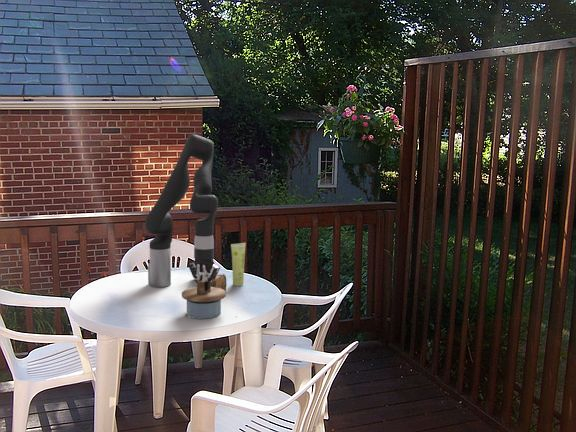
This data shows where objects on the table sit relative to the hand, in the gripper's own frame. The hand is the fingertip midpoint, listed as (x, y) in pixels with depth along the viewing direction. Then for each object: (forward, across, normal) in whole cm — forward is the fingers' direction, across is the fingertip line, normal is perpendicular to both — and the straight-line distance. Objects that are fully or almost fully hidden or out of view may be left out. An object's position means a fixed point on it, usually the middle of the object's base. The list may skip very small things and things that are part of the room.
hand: (204, 289), depth 228 cm
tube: (+10, -9, +41) cm, 43 cm away
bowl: (+10, 0, 0) cm, 10 cm away
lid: (+2, 0, 0) cm, 2 cm away
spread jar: (+10, -25, +40) cm, 48 cm away
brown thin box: (+10, -8, +23) cm, 26 cm away
